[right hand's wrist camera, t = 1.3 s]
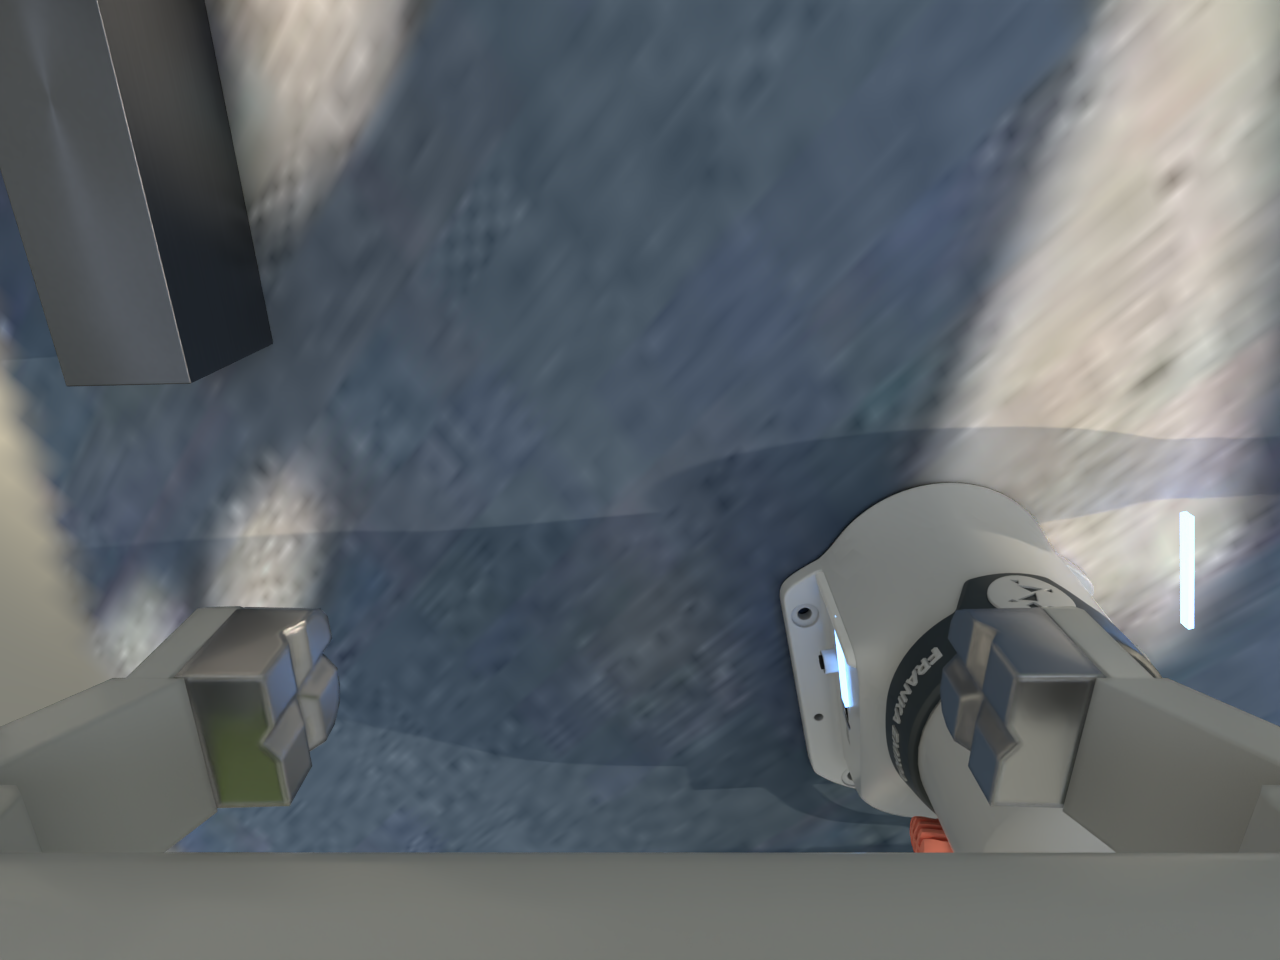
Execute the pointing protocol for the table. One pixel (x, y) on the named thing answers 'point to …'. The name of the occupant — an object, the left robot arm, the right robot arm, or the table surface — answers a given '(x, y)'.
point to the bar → (127, 189)
